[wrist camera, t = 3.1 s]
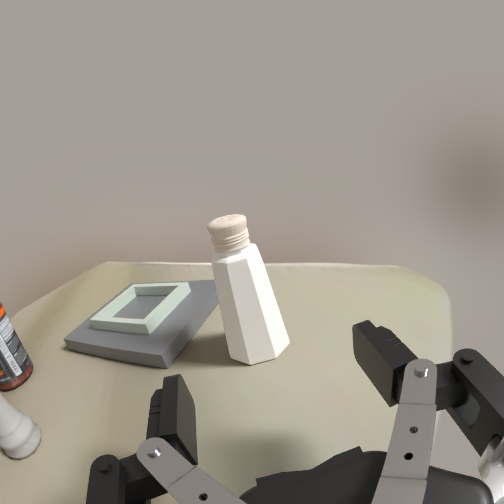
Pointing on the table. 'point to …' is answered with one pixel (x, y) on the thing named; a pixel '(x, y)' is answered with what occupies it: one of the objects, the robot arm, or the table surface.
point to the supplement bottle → (12, 356)
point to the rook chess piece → (17, 431)
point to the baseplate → (146, 322)
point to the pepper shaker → (245, 294)
